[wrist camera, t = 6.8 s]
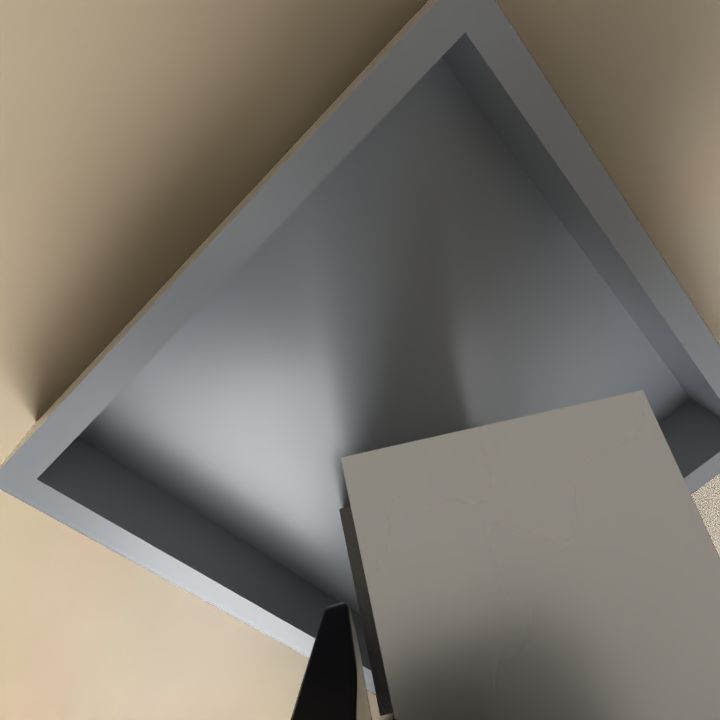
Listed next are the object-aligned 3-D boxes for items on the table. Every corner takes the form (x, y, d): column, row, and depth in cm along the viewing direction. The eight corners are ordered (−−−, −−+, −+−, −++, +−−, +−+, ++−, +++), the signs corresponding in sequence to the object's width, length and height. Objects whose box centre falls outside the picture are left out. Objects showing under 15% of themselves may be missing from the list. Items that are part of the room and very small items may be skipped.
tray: (707, 389, 17) (775, 431, 14) (386, 640, 19) (401, 709, 17) (431, -4, 11) (471, -36, 9) (35, 423, 14) (-13, 482, 11)
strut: (548, 653, 14) (870, 795, 5) (378, 697, 14) (394, 932, 5) (494, 481, 16) (658, 356, 7) (342, 517, 16) (303, 434, 7)
